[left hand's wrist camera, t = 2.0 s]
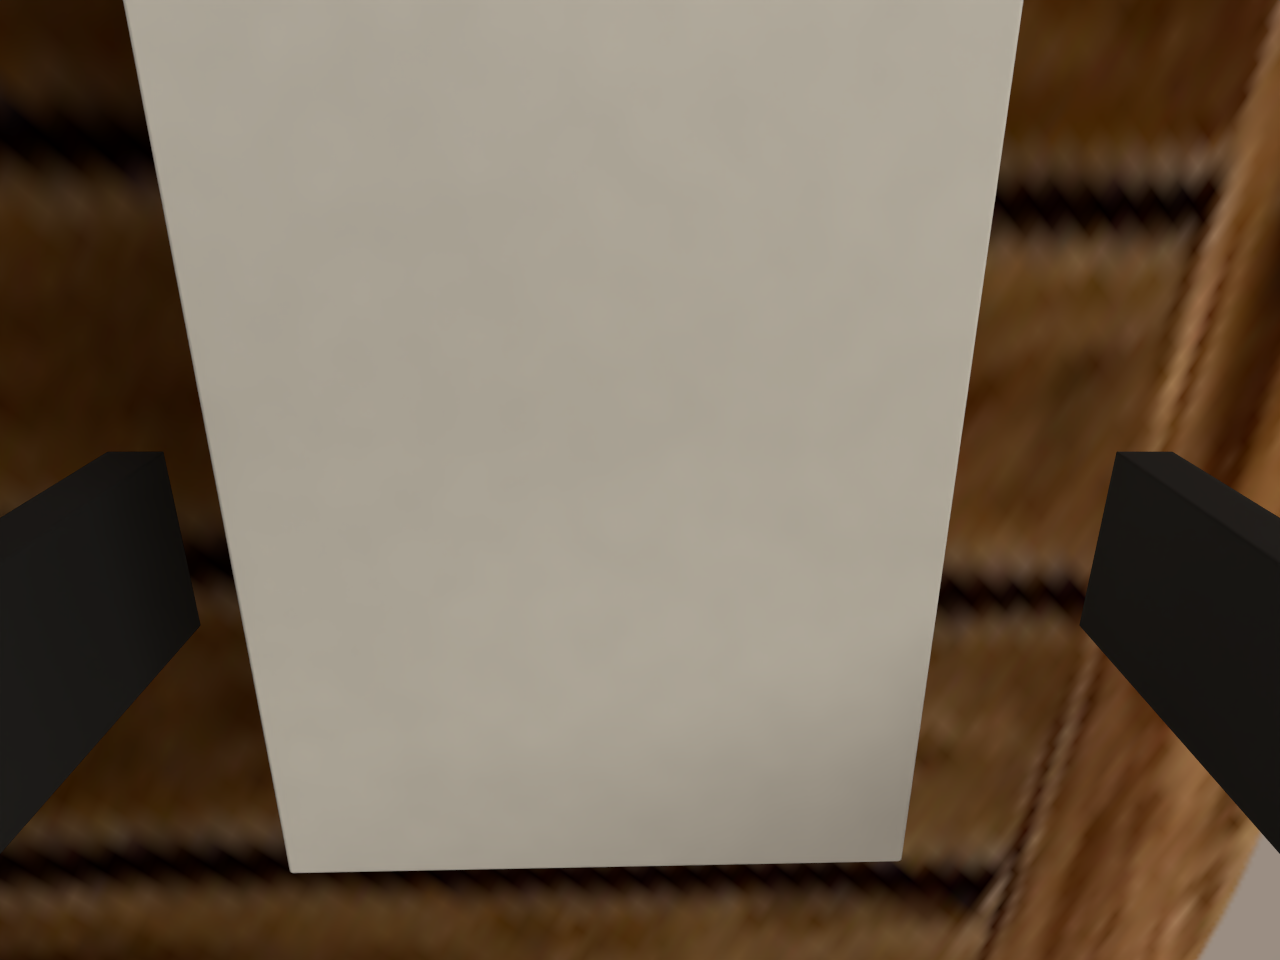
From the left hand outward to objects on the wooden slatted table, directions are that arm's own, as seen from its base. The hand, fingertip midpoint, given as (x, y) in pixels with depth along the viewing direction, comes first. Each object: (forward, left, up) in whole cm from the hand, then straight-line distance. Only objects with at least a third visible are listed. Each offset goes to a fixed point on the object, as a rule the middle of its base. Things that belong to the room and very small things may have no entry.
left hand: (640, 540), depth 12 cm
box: (-1, +10, -7) cm, 12 cm away
